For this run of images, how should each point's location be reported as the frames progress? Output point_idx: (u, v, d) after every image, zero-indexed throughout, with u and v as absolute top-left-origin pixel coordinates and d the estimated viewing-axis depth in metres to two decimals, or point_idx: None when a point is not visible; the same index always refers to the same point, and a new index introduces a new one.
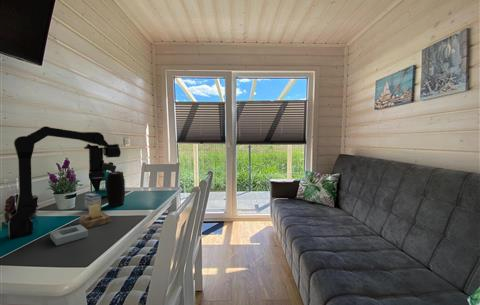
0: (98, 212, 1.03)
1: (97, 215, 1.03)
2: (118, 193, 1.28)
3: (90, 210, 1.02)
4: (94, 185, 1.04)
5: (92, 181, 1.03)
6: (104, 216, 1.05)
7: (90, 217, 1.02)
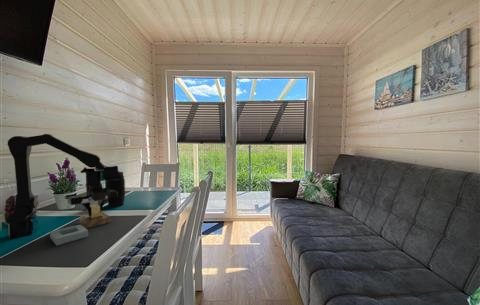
0: (98, 212, 1.03)
1: (97, 215, 1.03)
2: (118, 193, 1.28)
3: None
4: (86, 209, 1.02)
5: (83, 204, 1.02)
6: (104, 216, 1.05)
7: (90, 217, 1.02)
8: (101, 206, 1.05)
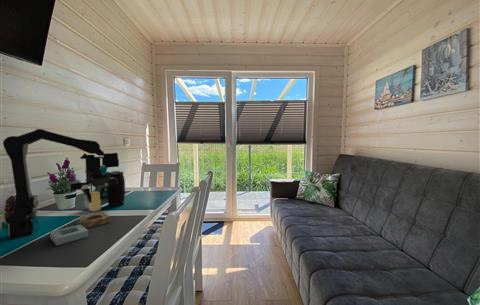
0: (98, 199, 1.03)
1: (96, 202, 1.02)
2: (118, 193, 1.28)
3: (90, 197, 1.02)
4: (85, 195, 1.01)
5: (83, 191, 1.01)
6: (104, 216, 1.05)
7: (90, 204, 1.02)
8: (101, 193, 1.04)
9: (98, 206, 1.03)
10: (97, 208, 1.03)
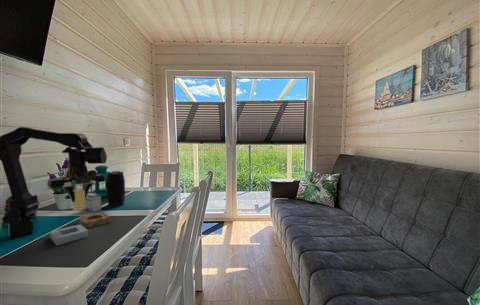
0: (83, 198, 0.93)
1: (81, 201, 0.92)
2: (118, 193, 1.28)
3: None
4: (68, 194, 0.91)
5: (66, 189, 0.91)
6: (104, 216, 1.05)
7: (74, 203, 0.92)
8: (86, 191, 0.94)
9: (83, 206, 0.93)
10: (82, 208, 0.93)
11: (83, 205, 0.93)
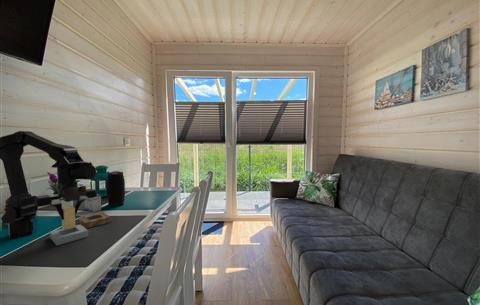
0: (72, 215, 0.87)
1: (70, 218, 0.87)
2: (118, 193, 1.28)
3: None
4: (57, 211, 0.86)
5: (54, 206, 0.86)
6: (104, 216, 1.05)
7: (63, 221, 0.86)
8: (76, 208, 0.89)
9: (73, 224, 0.87)
10: (71, 226, 0.87)
11: (73, 223, 0.88)
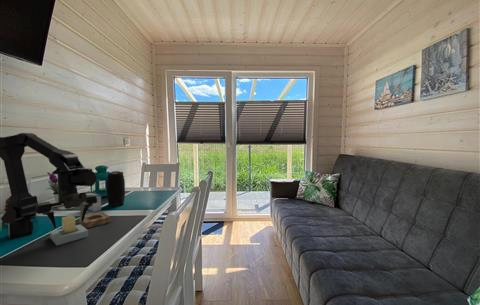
0: (73, 225, 0.88)
1: (71, 229, 0.87)
2: (118, 193, 1.28)
3: (63, 223, 0.86)
4: None
5: (47, 214, 0.84)
6: (104, 216, 1.05)
7: (63, 231, 0.86)
8: (84, 213, 0.91)
9: None
10: None
11: None
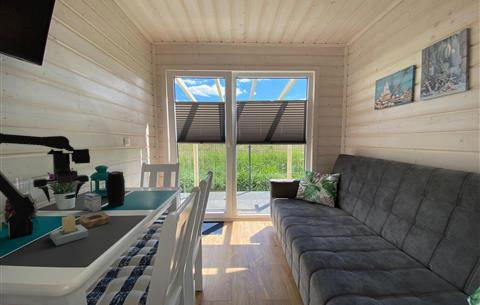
0: (73, 225, 0.88)
1: (71, 229, 0.87)
2: (118, 193, 1.28)
3: (63, 223, 0.86)
4: (45, 194, 0.95)
5: None
6: (104, 216, 1.05)
7: (63, 231, 0.86)
8: (77, 190, 1.01)
9: None
10: None
11: None
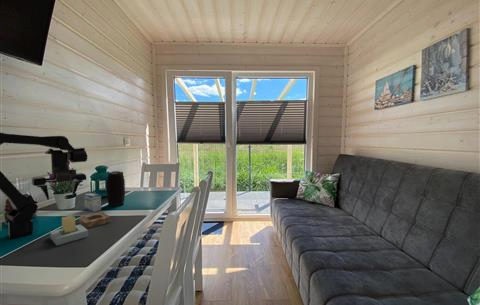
0: (73, 225, 0.88)
1: (71, 229, 0.87)
2: (118, 193, 1.28)
3: (63, 223, 0.86)
4: None
5: (41, 188, 0.98)
6: (104, 216, 1.05)
7: (63, 231, 0.86)
8: (75, 188, 1.05)
9: None
10: None
11: None
